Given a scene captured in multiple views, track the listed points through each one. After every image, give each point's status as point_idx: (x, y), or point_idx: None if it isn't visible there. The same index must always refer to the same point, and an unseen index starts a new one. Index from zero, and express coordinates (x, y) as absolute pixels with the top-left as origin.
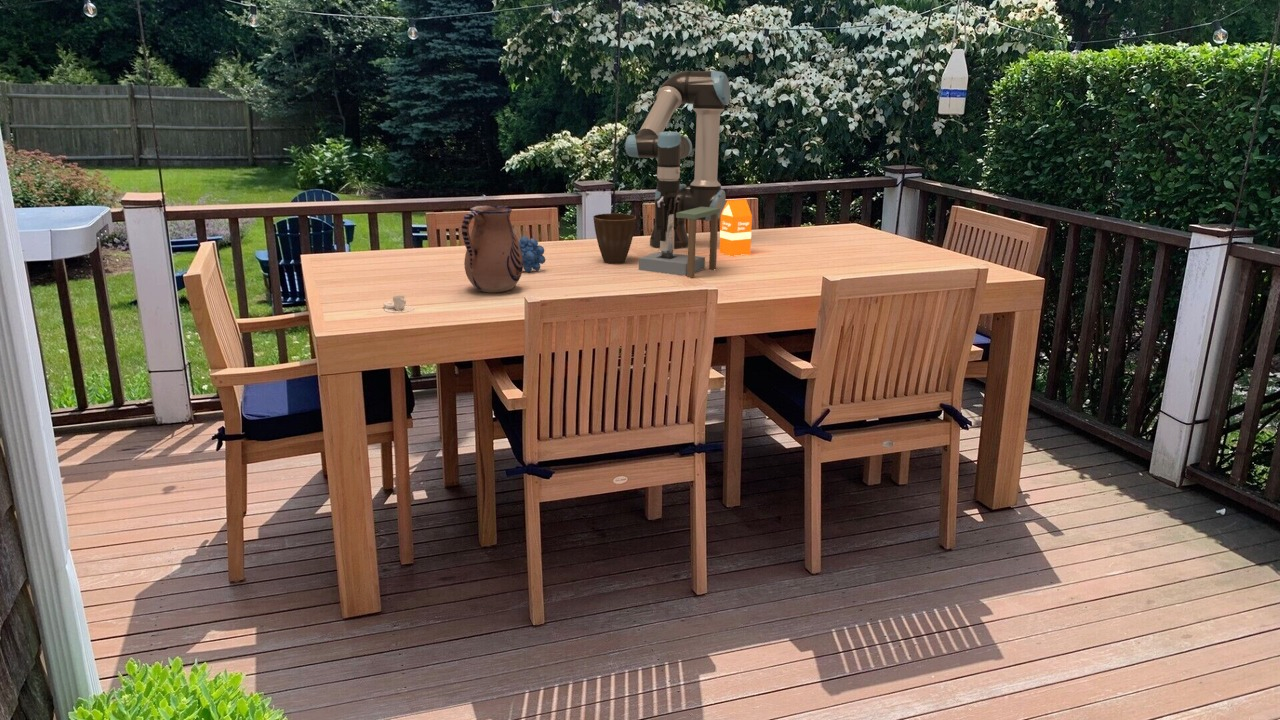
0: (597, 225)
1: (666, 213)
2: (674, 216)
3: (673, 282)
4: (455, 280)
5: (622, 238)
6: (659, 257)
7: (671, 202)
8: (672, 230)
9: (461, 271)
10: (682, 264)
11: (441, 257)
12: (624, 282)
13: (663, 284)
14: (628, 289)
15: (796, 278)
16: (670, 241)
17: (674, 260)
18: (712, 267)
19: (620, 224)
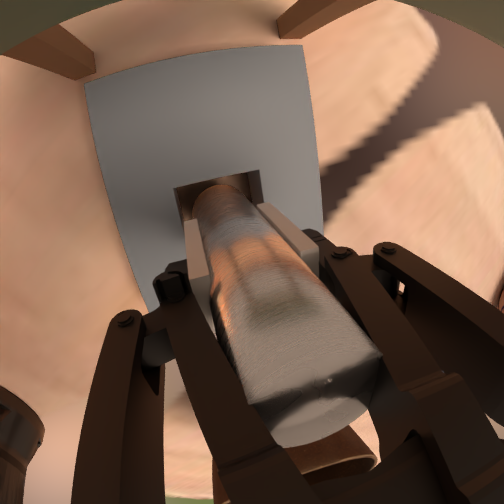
0: (352, 460)
1: (429, 359)
2: (199, 380)
3: (385, 48)
4: None
5: None
6: None
7: (484, 492)
8: (258, 248)
9: None
10: (303, 62)
11: (376, 454)
12: (448, 169)
13: (418, 64)
14: (480, 120)
15: None
16: (255, 216)
17: (269, 133)
18: (91, 55)
19: (351, 443)
